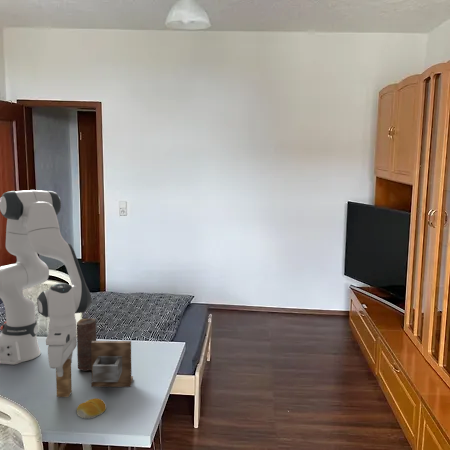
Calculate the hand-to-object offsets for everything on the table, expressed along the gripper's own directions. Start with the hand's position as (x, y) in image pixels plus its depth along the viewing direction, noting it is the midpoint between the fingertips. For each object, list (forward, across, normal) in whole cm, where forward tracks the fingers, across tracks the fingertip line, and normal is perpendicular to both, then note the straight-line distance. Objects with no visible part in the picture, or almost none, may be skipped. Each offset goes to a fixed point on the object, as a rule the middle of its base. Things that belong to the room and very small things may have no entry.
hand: (64, 369), depth 168 cm
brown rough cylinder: (+9, -20, +2) cm, 22 cm away
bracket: (+9, -4, +14) cm, 18 cm away
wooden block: (+9, 0, -1) cm, 9 cm away
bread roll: (+10, +12, +12) cm, 19 cm away
